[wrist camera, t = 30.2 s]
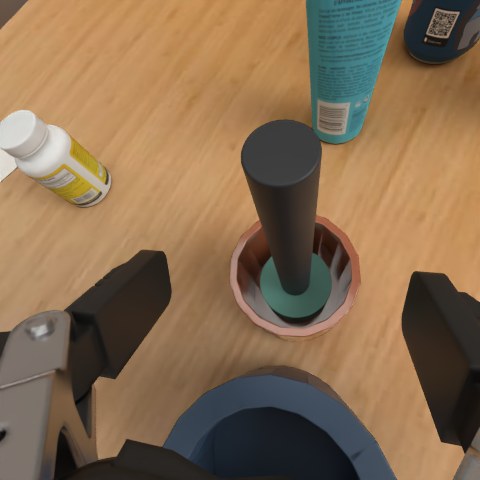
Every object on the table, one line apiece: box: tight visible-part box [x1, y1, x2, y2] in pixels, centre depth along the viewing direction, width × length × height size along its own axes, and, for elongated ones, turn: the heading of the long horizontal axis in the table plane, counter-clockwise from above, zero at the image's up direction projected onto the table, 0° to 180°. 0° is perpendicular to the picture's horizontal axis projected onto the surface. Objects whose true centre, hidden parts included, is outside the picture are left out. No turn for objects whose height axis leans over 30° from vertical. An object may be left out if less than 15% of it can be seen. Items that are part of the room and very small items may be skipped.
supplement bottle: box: [0, 110, 111, 207], centre depth 30 cm, size 5×5×10 cm
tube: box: [306, 0, 402, 144], centre depth 22 cm, size 7×5×19 cm, turn 96°
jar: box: [162, 366, 397, 480], centre depth 17 cm, size 11×11×10 cm
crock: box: [229, 215, 361, 341], centre depth 22 cm, size 8×8×8 cm
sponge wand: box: [241, 120, 332, 323], centre depth 16 cm, size 5×5×19 cm
